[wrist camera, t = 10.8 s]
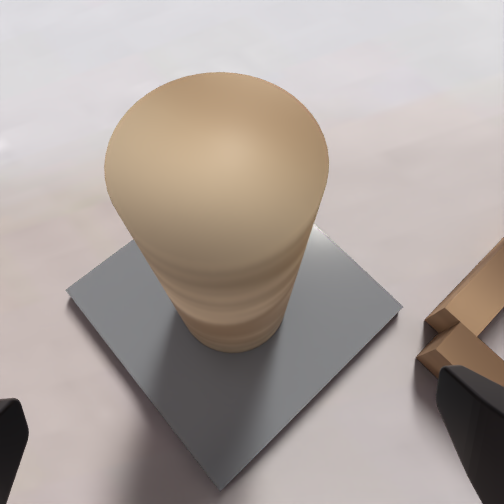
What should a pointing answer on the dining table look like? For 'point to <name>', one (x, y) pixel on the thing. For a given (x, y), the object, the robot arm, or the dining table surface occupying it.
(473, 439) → the robot arm
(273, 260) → the oak peg
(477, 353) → the walnut frame
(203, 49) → the dining table surface
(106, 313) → the slate pad
